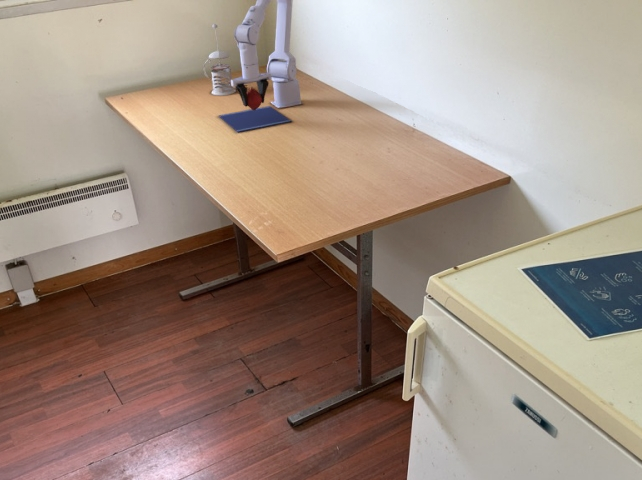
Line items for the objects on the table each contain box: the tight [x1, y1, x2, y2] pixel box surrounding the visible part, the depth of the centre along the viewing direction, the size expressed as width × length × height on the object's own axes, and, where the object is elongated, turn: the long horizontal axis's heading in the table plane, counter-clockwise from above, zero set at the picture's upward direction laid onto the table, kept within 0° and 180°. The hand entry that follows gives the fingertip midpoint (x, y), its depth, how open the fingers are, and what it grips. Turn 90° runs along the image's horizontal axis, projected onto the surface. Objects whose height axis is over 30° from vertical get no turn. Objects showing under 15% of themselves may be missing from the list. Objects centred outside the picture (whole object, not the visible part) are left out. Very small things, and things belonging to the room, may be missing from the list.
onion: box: [247, 86, 262, 110], centre depth 231 cm, size 6×6×8 cm
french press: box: [202, 23, 237, 96], centre depth 257 cm, size 10×12×25 cm
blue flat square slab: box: [218, 105, 292, 134], centre depth 236 cm, size 20×20×1 cm
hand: (253, 103), depth 232 cm, fingers closed on onion, 6 cm apart
